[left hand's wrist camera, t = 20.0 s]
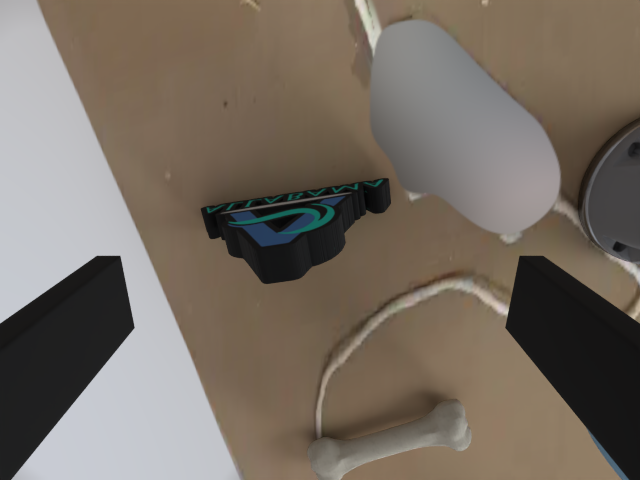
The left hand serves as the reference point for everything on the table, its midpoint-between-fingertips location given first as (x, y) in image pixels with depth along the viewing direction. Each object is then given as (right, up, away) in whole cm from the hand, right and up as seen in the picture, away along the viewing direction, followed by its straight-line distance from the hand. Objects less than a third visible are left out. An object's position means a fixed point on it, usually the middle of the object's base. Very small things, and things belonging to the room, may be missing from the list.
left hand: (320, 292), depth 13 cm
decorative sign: (-2, +5, +26) cm, 27 cm away
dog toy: (+8, -22, +36) cm, 43 cm away
